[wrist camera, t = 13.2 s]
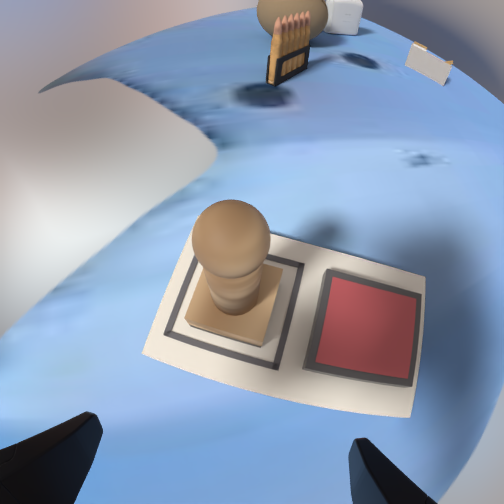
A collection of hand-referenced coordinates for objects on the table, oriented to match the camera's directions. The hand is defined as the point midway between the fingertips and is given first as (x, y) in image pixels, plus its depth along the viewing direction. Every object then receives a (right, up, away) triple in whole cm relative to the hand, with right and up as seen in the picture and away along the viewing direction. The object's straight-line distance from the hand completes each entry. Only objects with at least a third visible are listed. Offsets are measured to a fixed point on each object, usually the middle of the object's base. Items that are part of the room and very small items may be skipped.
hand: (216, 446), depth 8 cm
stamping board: (+5, +1, +15) cm, 16 cm away
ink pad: (+10, 0, +13) cm, 17 cm away
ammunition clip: (+7, +36, +34) cm, 50 cm away
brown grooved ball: (+9, +53, +43) cm, 69 cm away
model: (+43, +49, +43) cm, 78 cm away
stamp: (0, +2, +14) cm, 15 cm away
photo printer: (+24, +64, +50) cm, 85 cm away
